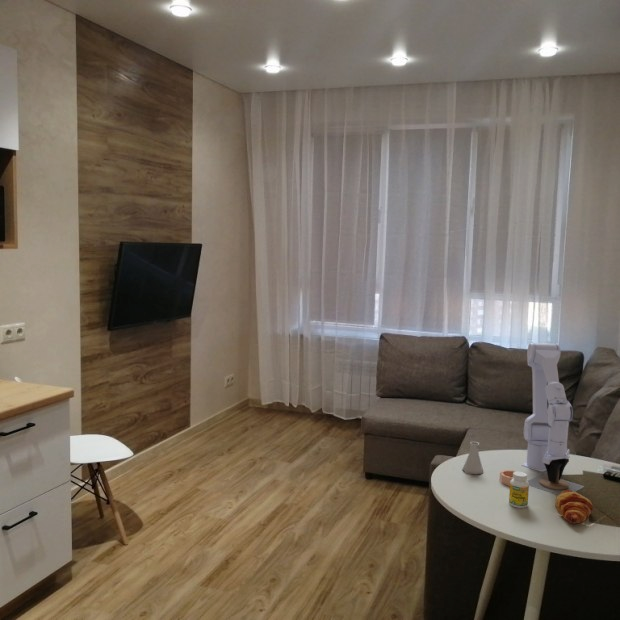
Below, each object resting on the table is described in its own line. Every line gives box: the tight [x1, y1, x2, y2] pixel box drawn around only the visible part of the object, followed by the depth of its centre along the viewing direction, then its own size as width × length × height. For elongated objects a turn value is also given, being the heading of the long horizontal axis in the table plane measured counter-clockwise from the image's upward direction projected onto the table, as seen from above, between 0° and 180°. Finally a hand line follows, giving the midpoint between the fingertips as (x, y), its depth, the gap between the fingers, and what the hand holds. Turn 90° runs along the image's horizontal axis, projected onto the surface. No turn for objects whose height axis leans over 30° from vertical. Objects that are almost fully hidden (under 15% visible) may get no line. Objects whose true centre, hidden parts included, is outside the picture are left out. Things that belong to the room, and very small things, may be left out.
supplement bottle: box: [508, 471, 530, 509], centre depth 183 cm, size 5×5×10 cm
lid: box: [539, 470, 569, 490], centre depth 199 cm, size 9×9×5 cm
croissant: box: [554, 490, 594, 524], centre depth 179 cm, size 21×10×8 cm, turn 160°
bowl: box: [499, 469, 518, 487], centre depth 200 cm, size 7×7×3 cm
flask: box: [462, 441, 484, 475], centre depth 209 cm, size 7×7×10 cm
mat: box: [527, 473, 585, 496], centre depth 199 cm, size 14×14×1 cm
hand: (554, 480), depth 199 cm, fingers closed on lid, 3 cm apart
